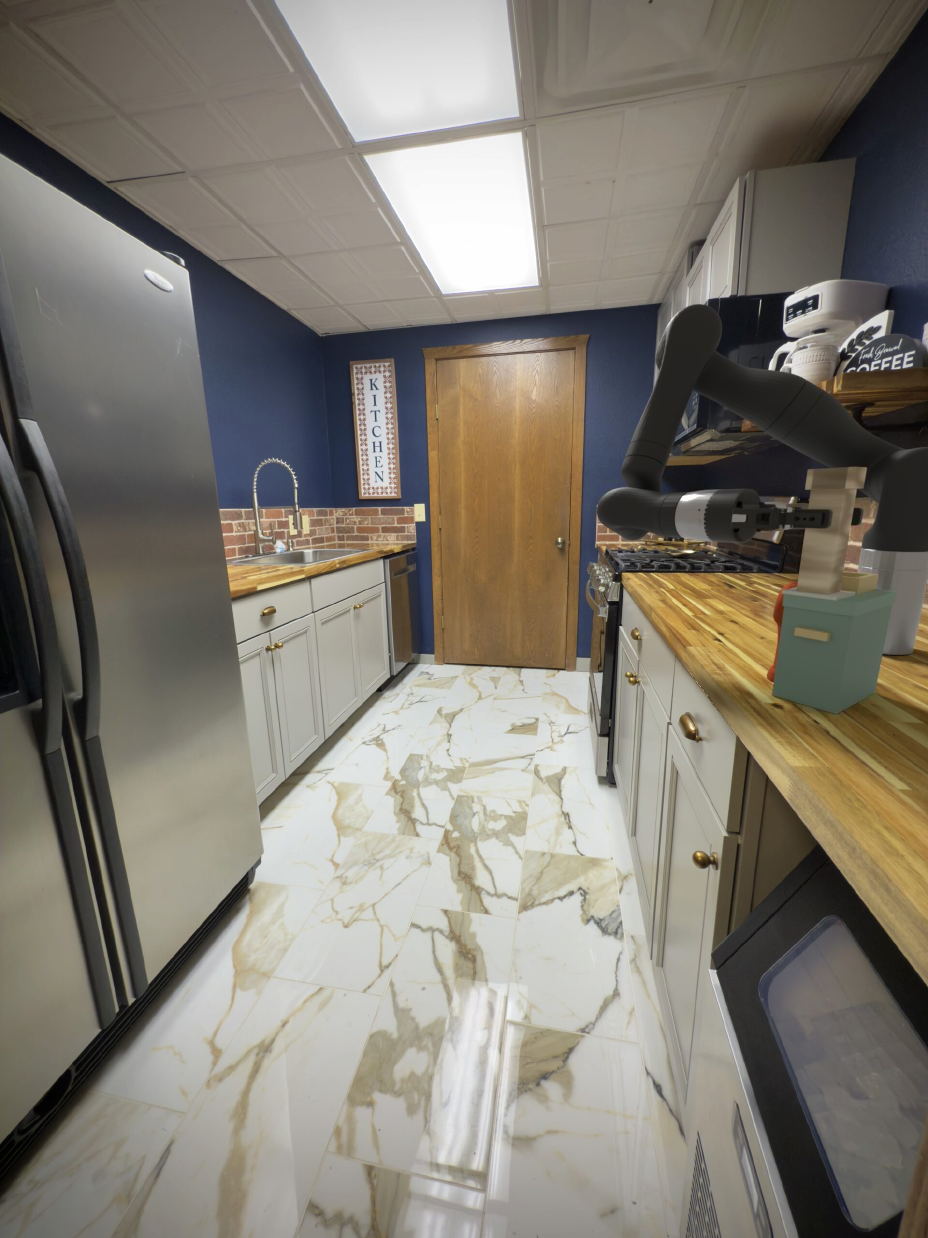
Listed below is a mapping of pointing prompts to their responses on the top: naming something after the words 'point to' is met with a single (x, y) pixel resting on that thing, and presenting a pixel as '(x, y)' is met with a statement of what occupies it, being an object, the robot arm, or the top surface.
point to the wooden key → (829, 544)
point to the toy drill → (778, 619)
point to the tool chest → (832, 643)
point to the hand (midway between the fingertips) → (846, 517)
